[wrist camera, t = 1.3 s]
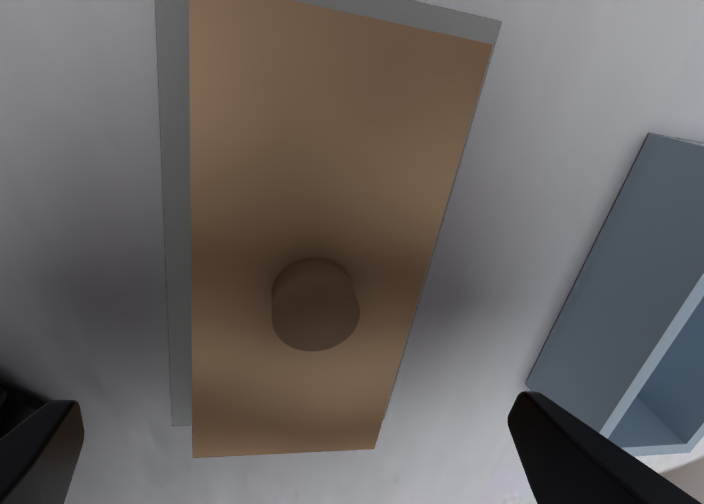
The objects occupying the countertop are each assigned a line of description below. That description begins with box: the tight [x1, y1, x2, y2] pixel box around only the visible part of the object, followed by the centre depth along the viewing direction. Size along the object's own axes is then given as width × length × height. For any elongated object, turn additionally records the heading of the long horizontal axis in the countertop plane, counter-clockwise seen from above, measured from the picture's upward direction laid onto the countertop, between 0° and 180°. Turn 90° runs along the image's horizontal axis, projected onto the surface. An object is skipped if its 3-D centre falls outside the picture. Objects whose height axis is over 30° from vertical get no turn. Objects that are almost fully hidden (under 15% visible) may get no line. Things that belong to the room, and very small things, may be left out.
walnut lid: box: [189, 0, 493, 458], centre depth 12 cm, size 14×7×3 cm, turn 170°
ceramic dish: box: [526, 133, 704, 456], centre depth 16 cm, size 12×6×4 cm, turn 170°
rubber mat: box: [155, 0, 502, 426], centre depth 14 cm, size 16×9×1 cm, turn 170°
